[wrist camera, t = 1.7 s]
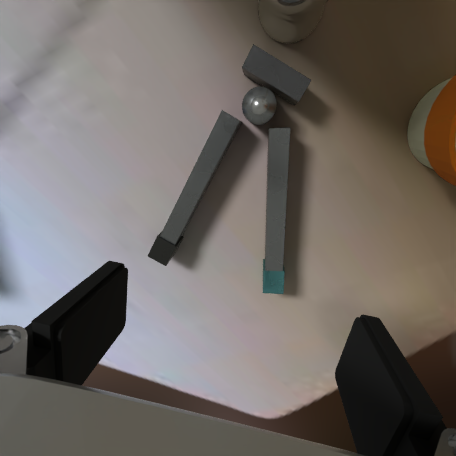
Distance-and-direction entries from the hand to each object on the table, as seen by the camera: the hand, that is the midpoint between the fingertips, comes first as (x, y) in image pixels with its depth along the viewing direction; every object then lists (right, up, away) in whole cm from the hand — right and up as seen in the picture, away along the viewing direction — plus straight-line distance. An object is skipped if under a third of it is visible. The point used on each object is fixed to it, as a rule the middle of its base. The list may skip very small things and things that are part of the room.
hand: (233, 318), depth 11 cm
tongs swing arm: (+4, +7, +21) cm, 22 cm away
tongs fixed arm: (-1, +10, +21) cm, 23 cm away
